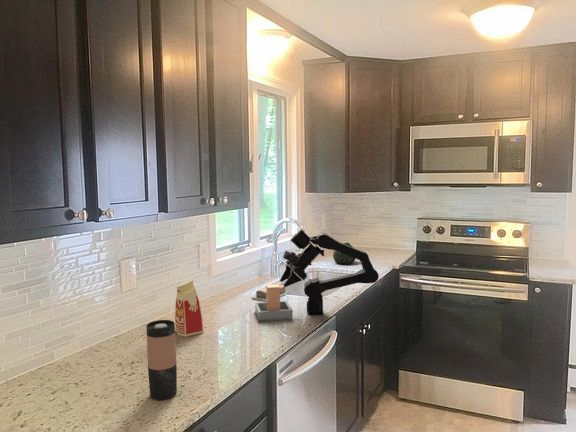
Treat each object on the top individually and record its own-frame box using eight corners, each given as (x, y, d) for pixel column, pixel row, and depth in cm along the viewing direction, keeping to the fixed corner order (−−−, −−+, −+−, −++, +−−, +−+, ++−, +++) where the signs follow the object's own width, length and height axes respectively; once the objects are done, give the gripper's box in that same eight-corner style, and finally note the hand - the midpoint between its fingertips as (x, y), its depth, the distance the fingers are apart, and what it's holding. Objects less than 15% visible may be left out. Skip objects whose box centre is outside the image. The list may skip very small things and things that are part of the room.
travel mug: (180, 388, 134) (178, 319, 132) (173, 401, 126) (170, 328, 124) (154, 388, 134) (151, 319, 132) (145, 401, 127) (141, 328, 125)
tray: (286, 309, 208) (286, 300, 208) (292, 319, 194) (292, 310, 194) (255, 311, 206) (255, 302, 205) (258, 321, 192) (258, 312, 191)
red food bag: (194, 326, 188) (192, 277, 186) (204, 332, 180) (203, 281, 178) (172, 331, 182) (170, 280, 180) (182, 337, 175) (180, 284, 173)
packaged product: (272, 282, 241) (289, 284, 235) (273, 291, 241) (289, 294, 236) (250, 290, 226) (267, 292, 220) (251, 300, 226) (267, 303, 221)
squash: (332, 252, 318) (334, 238, 306) (354, 253, 317) (357, 239, 306) (333, 270, 308) (335, 255, 297) (355, 270, 308) (358, 256, 297)
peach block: (278, 311, 203) (277, 284, 202) (280, 315, 198) (279, 287, 197) (266, 312, 202) (266, 284, 201) (268, 315, 197) (267, 287, 196)
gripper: (290, 240, 208) (265, 266, 207) (298, 247, 189) (271, 276, 188) (307, 257, 210) (283, 283, 209) (317, 265, 191) (291, 294, 191)
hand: (282, 283), depth 199 cm, fingers open, 9 cm apart
